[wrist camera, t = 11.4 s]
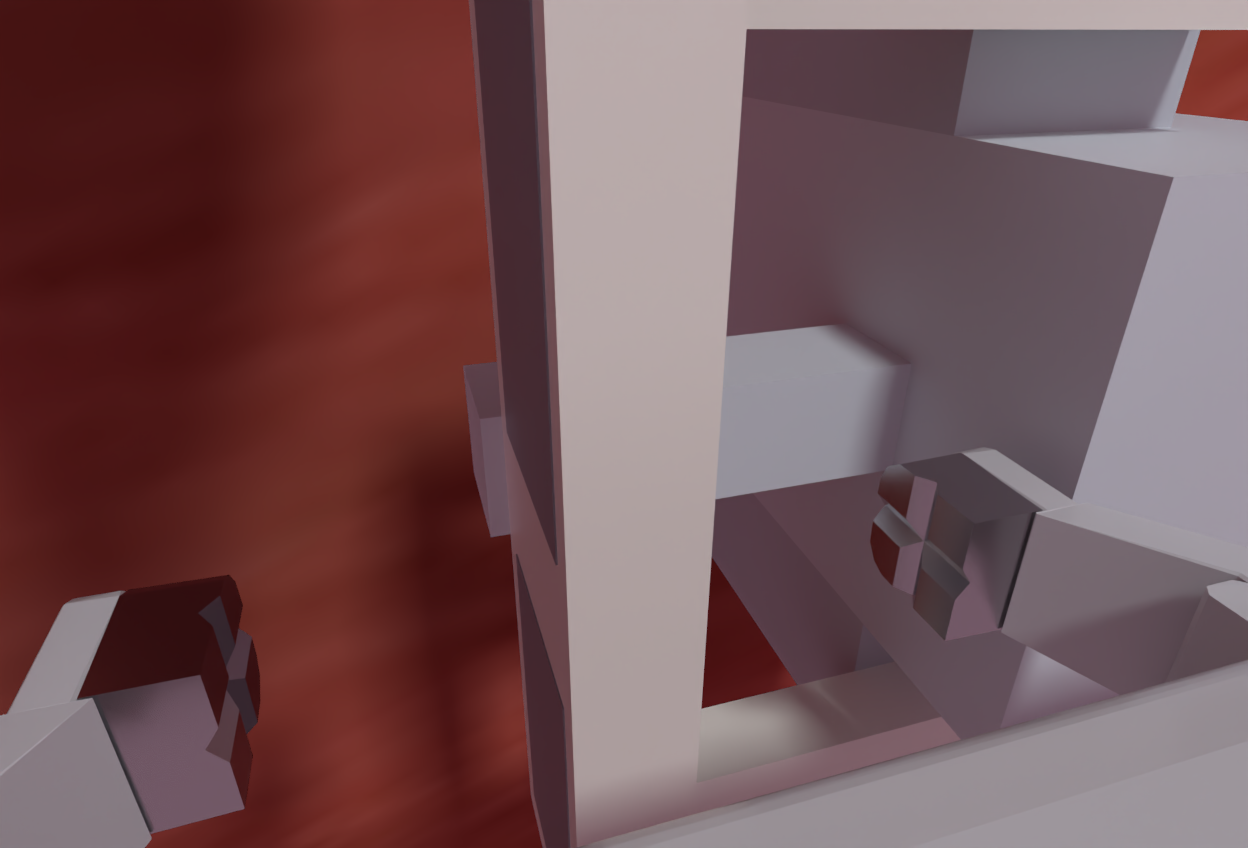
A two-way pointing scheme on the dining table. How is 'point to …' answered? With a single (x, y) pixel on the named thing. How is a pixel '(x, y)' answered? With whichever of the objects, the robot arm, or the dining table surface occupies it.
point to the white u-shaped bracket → (657, 391)
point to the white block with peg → (962, 323)
